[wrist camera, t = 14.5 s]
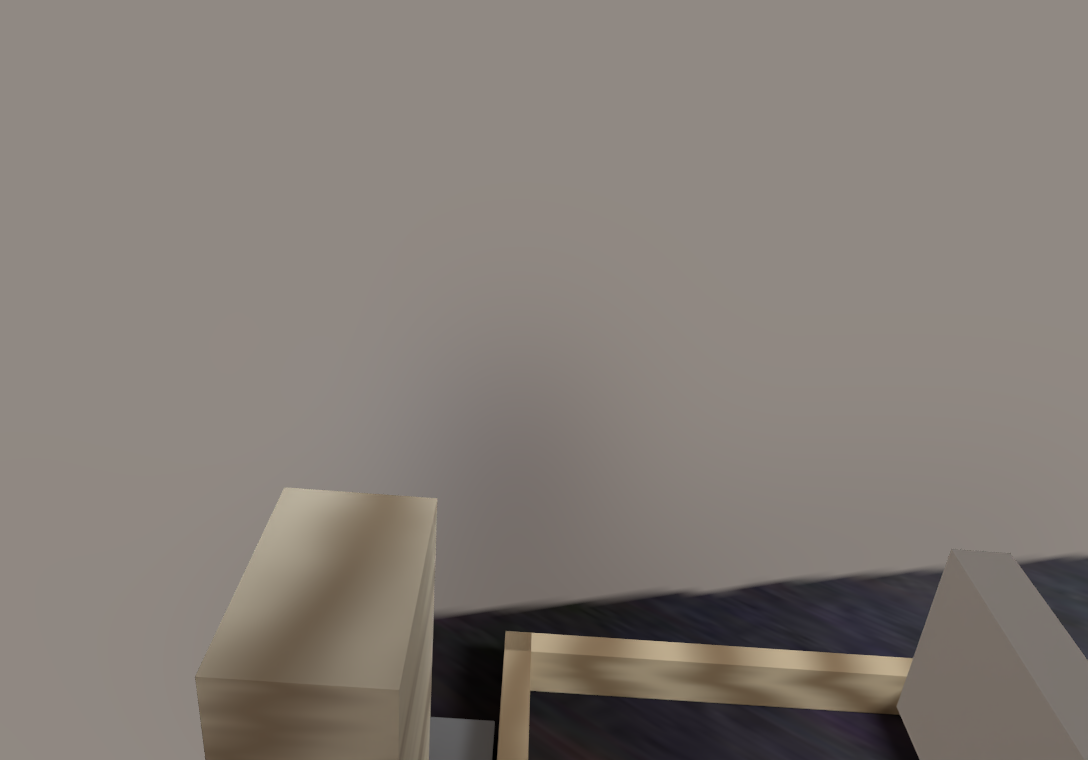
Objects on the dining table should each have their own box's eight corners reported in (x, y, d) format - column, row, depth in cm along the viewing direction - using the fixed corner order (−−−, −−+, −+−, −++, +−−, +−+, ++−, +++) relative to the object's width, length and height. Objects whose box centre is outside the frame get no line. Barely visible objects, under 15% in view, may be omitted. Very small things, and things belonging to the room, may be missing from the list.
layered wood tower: (427, 807, 44) (437, 498, 36) (395, 1033, 35) (399, 690, 27) (302, 799, 44) (284, 487, 36) (238, 1024, 35) (195, 676, 27)
